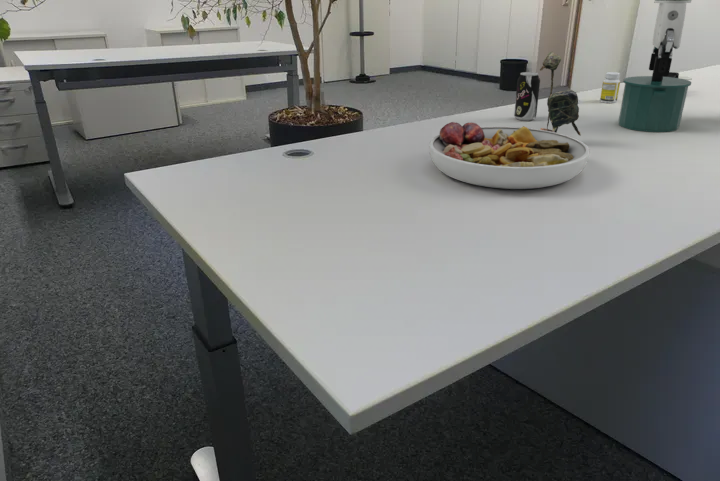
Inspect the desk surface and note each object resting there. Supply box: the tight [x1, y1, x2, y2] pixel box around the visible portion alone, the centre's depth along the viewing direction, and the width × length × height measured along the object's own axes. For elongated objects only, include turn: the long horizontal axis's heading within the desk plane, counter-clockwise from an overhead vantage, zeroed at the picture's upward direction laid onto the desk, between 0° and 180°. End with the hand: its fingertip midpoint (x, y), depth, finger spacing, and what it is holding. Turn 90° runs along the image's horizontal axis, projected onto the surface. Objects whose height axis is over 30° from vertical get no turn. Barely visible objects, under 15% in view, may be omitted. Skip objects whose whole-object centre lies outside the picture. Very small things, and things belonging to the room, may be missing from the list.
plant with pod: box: [539, 51, 582, 137], centre depth 122 cm, size 8×11×20 cm
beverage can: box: [513, 71, 541, 122], centre depth 145 cm, size 6×6×12 cm
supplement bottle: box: [599, 71, 621, 104], centre depth 165 cm, size 5×5×8 cm
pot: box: [618, 83, 689, 133], centre depth 136 cm, size 14×19×10 cm
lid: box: [623, 57, 692, 88], centre depth 133 cm, size 15×15×7 cm
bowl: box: [428, 121, 591, 190], centre depth 107 cm, size 30×30×8 cm
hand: (658, 73), depth 133 cm, fingers open, 9 cm apart
